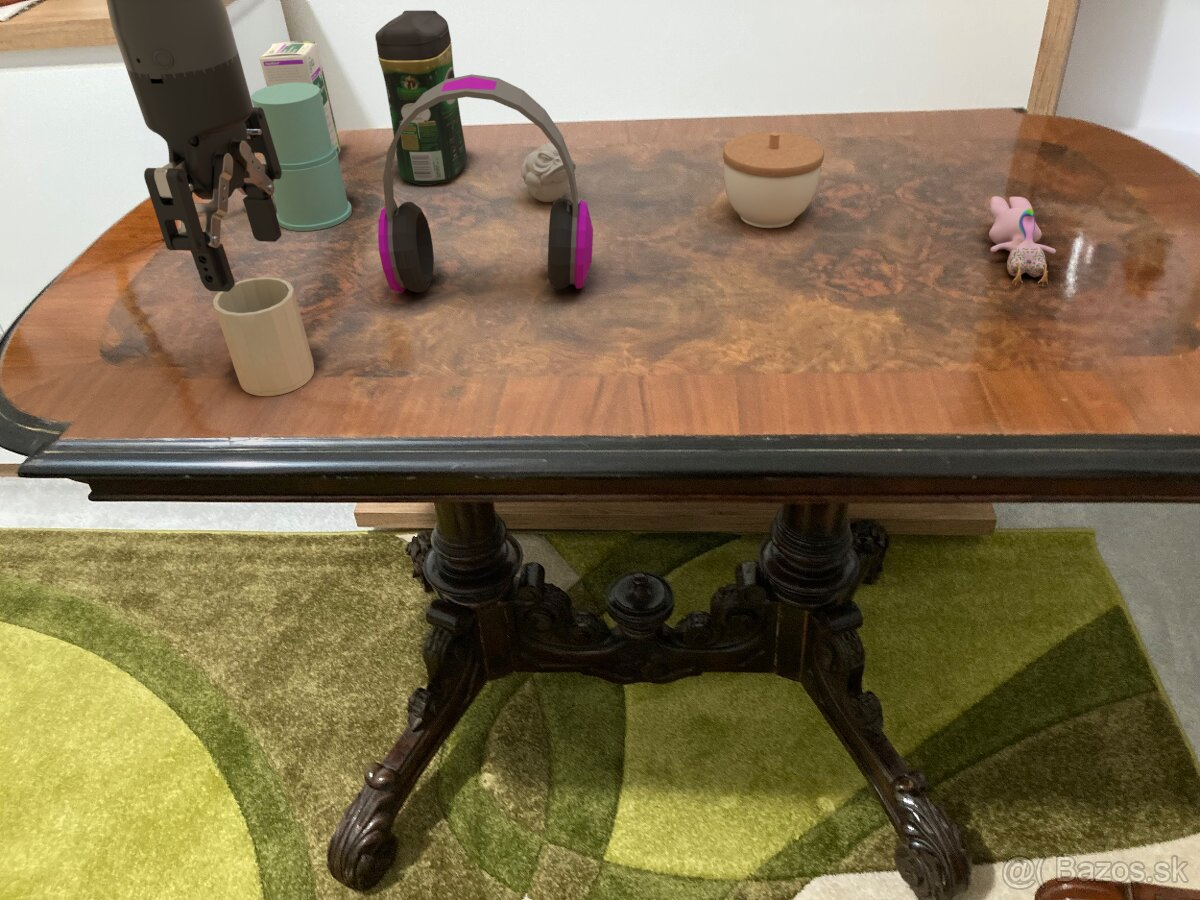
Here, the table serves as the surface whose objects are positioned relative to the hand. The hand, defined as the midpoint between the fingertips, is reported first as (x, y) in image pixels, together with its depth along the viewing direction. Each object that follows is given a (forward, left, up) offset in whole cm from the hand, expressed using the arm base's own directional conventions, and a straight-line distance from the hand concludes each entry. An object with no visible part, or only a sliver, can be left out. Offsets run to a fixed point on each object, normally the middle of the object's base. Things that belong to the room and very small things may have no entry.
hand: (246, 263), depth 74 cm
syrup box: (+33, +38, -11) cm, 52 cm away
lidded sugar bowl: (+53, -18, -11) cm, 57 cm away
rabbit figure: (+60, -43, -11) cm, 74 cm away
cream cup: (0, 0, -11) cm, 11 cm away
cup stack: (+23, +25, -11) cm, 36 cm away
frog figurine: (+42, +5, -11) cm, 44 cm away
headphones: (+23, -4, -11) cm, 26 cm away
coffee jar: (+40, +23, -11) cm, 47 cm away
